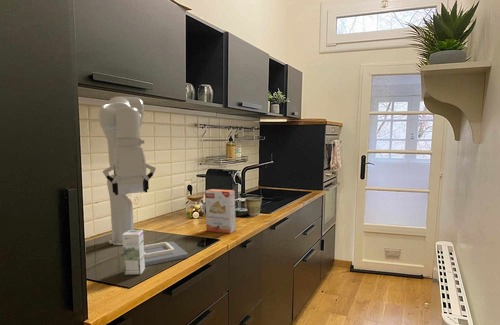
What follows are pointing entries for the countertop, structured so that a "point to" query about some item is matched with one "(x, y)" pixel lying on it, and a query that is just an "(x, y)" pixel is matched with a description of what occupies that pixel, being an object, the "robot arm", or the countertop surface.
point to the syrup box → (133, 252)
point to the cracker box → (220, 210)
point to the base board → (163, 253)
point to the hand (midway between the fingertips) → (131, 193)
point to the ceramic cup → (253, 205)
